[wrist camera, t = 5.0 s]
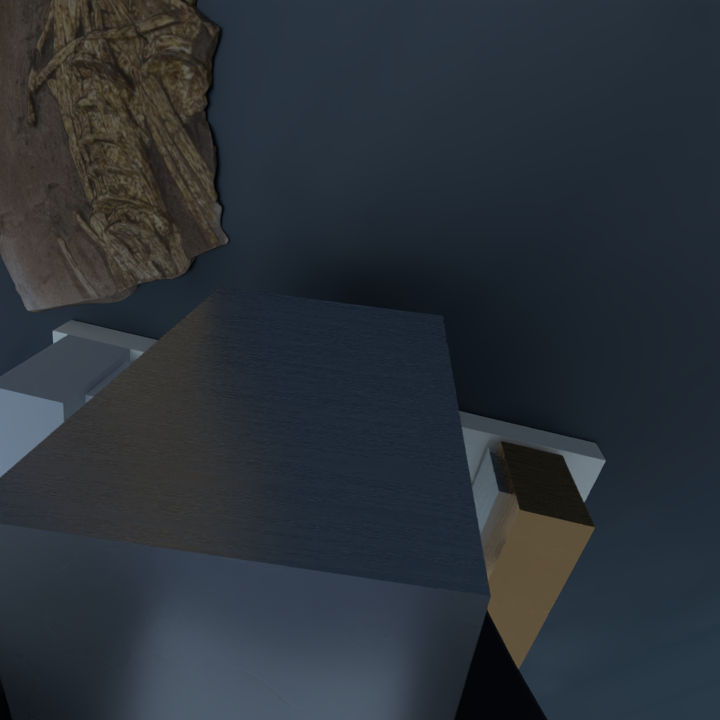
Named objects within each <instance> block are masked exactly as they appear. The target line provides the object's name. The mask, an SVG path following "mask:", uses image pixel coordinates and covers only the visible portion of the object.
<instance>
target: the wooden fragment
mask: <svg viewBox="0 0 720 720" xmlns="http://www.w3.org/2000/svg"><path fill="white" fill-rule="evenodd" d="M196 5H197V0H0V253H1V256H2V259H3V261H4V263H5V265H6V267H7V269H8V271H9V273H10V275H11V277H12V279H13V281H14V283H15V284H16V290H17V291H18V293H19V295H20V296H21V298H22V300H23V303H24V305H25V307H26V309H27V310H28V311H30V312H35V313H38V312H42V311H45V310H49V309H55V308H62V307H67V306H75V305H81V304H90V303H113V302H119V301H122V300H123V299H125V298H127V297H128V296H130V295H132V294H133V293H134V292H135V291H136V290H137V288H138V285H139V284H142V283H145V282H151V281H153V280H155V279H166V278H167V279H173V278H177V277H181V276H182V275H183V274H185V273H186V272H187V271H188V270H189V267H190V266H191V264H192V262H193V261H194V259H195V258H196V256H198V255H201V254H203V253H205V252H208V251H209V250H211V249H215V248H217V247H220V246H222V245H225V244H227V242H228V241H229V239H228V237H227V235H226V234H225V232H224V231H223V229H222V228H221V214H222V209H223V208H222V206H221V204H220V203H219V201H218V194H217V192H216V189H215V186H214V178H215V176H216V166H217V160H216V147H215V146H213V138H212V135H211V132H210V128H209V124H208V122H207V121H206V115H205V109H206V106H207V99H206V93H207V91H208V89H209V87H210V86H211V84H212V74H211V71H212V57H213V55H214V53H215V49H216V46H217V42H218V39H219V34H220V27H219V26H218V25H216V24H215V23H213V22H212V21H210V20H209V19H207V18H206V17H205V16H203V15H202V14H200V13H199V12H198V11H197V10H196Z"/></svg>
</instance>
